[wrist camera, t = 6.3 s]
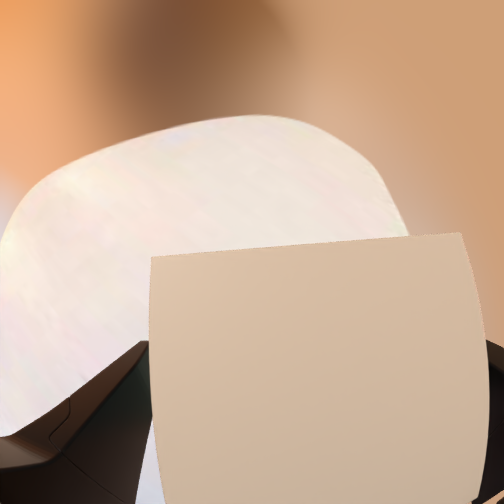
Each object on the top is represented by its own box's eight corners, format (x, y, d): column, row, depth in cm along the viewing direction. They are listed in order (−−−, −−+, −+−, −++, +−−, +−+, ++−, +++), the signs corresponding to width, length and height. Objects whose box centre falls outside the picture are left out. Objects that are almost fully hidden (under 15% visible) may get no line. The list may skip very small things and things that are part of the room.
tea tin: (325, 409, 14) (477, 497, 2) (243, 418, 14) (180, 561, 2) (318, 333, 16) (460, 232, 3) (238, 340, 16) (151, 257, 4)
